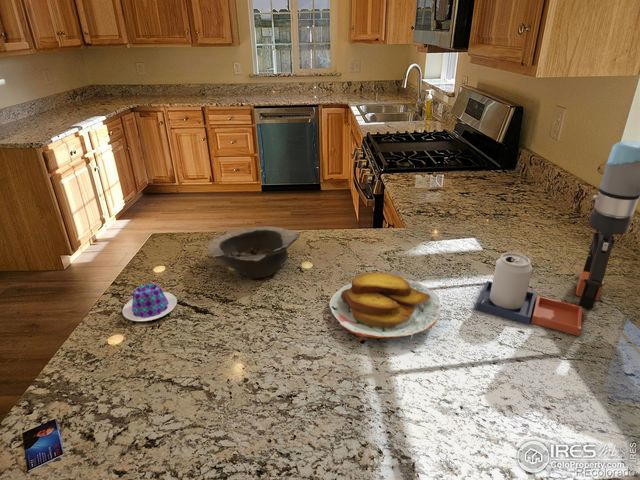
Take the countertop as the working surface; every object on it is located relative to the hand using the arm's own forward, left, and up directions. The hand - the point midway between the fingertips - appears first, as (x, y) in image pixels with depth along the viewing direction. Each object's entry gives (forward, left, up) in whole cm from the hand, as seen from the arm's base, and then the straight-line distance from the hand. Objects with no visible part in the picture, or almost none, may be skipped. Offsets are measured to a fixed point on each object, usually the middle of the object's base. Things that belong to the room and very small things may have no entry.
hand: (586, 292), depth 104 cm
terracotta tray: (+6, +15, 0) cm, 16 cm away
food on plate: (+40, +32, 0) cm, 51 cm away
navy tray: (+16, +15, 0) cm, 22 cm away
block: (0, 0, 0) cm, 0 cm away
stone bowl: (+80, +29, 0) cm, 85 cm away
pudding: (+88, +58, 0) cm, 105 cm away
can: (+16, +15, 0) cm, 22 cm away
